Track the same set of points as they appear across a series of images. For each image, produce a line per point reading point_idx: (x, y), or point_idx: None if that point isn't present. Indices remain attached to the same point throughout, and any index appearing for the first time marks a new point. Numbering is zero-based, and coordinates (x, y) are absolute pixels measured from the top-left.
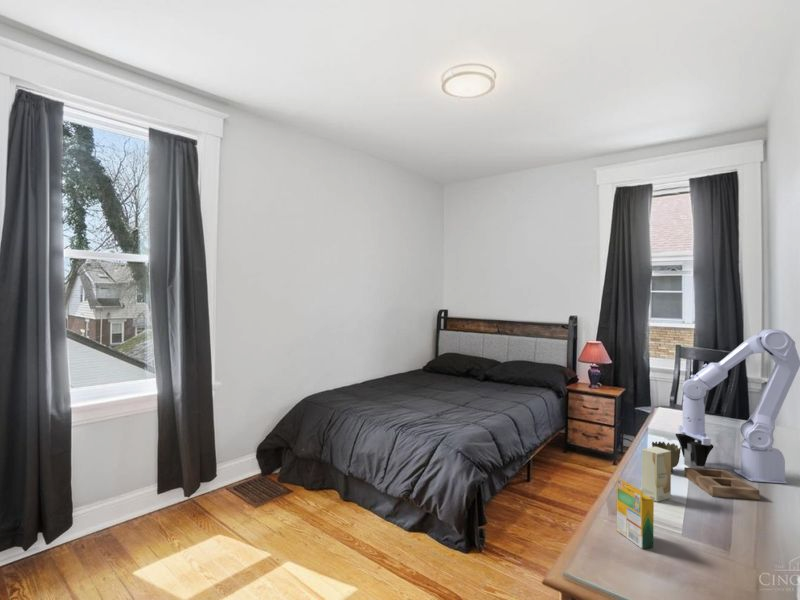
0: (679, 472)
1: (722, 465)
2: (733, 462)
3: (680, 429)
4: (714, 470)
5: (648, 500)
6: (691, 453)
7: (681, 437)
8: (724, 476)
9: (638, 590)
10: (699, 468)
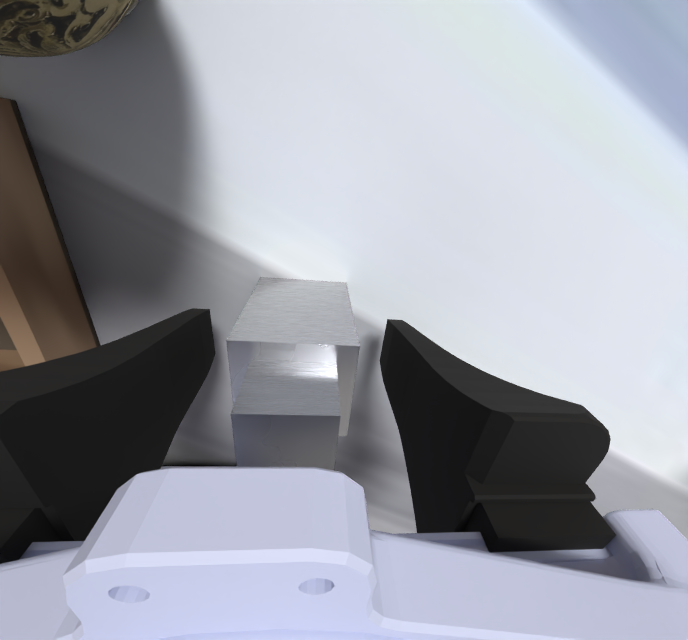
0: (115, 112)
1: (347, 461)
2: (391, 510)
3: (652, 573)
4: (20, 351)
5: None
6: (229, 341)
7: (467, 433)
8: (5, 370)
9: None
10: None
